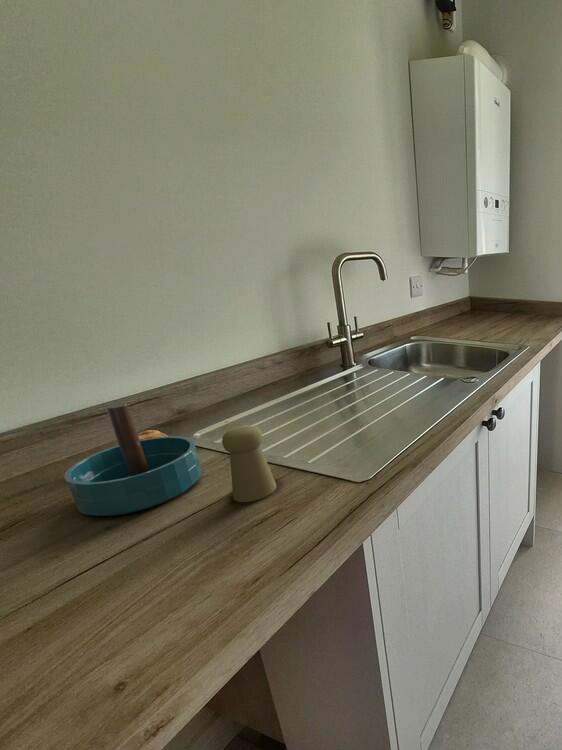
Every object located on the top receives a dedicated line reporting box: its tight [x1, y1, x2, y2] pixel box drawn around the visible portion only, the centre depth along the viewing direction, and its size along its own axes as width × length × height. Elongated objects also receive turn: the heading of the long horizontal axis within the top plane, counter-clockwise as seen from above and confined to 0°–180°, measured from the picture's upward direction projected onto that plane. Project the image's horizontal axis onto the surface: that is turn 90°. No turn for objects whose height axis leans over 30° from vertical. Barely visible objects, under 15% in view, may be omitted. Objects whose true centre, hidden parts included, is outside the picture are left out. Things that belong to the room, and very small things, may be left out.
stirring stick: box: [105, 402, 150, 476], centre depth 64 cm, size 2×2×14 cm
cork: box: [221, 424, 277, 503], centre depth 64 cm, size 6×6×11 cm
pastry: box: [137, 429, 169, 440], centre depth 76 cm, size 9×7×4 cm
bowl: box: [63, 435, 203, 517], centre depth 65 cm, size 15×15×6 cm
